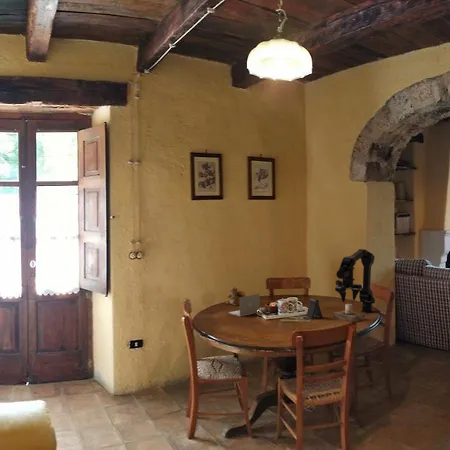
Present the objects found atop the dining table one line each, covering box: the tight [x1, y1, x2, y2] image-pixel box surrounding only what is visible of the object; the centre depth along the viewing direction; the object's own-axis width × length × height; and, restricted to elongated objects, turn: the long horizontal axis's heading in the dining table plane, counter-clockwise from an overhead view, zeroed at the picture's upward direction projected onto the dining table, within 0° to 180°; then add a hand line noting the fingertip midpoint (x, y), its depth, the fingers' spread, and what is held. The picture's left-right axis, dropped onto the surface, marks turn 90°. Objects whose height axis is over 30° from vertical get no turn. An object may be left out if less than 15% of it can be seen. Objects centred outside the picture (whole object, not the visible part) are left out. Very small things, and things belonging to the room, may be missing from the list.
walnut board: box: [332, 310, 366, 323], centre depth 316 cm, size 12×16×3 cm
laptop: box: [228, 293, 261, 317], centre depth 336 cm, size 18×12×13 cm
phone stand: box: [306, 298, 323, 320], centre depth 320 cm, size 9×6×12 cm, turn 117°
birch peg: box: [344, 303, 353, 315], centre depth 315 cm, size 4×4×9 cm
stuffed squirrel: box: [225, 286, 247, 307], centre depth 365 cm, size 10×14×13 cm
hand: (348, 301), depth 315 cm, fingers open, 9 cm apart
